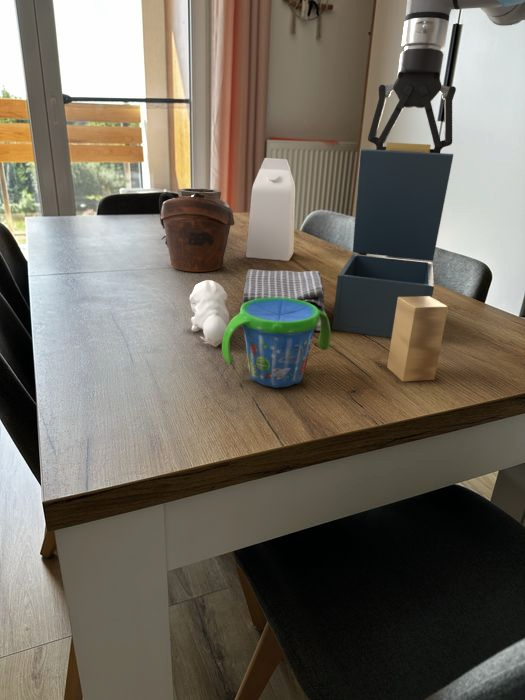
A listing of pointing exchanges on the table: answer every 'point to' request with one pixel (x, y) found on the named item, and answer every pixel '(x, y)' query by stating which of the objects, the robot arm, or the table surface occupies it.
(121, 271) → the table surface
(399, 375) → the beech block
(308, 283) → the towel
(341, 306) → the chest
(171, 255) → the brown pot
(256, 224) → the milk
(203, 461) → the table surface
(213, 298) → the white animal figurine
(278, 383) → the snack cup
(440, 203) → the chest lid
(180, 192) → the mug
